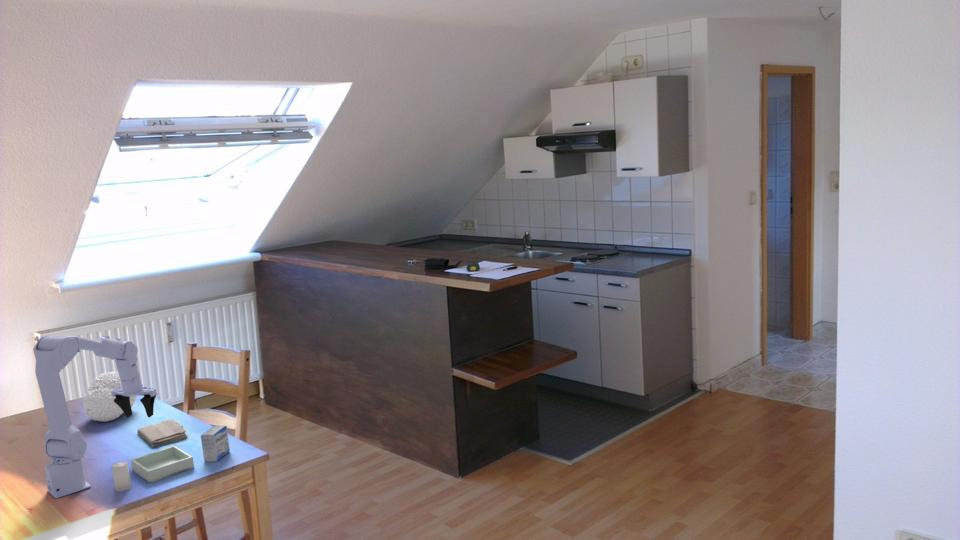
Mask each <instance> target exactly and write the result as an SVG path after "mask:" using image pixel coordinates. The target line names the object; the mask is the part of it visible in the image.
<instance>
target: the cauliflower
mask: <svg viewBox="0 0 960 540" xmlns="http://www.w3.org/2000/svg"><path fill="white" fill-rule="evenodd" d="M91 381H92V382H90V385H89V386H88V387H87V388H88V389H87V392H86V393H85V395H84V397H83V402H82V405H83V406H82V407H83V410H84V414H85V415H86V417H87V418H88V419H90V420H93V421H96V422H106V423H107V422H109V421H110V422H111V421H114V420H116V419H117V418H120V416H122V415H123V414H124V412H123V411H122V409H121V408H120V407H119V406H118V405H117V404H116V403H115V402H114V399H115V397H112V393H111V391H112V390H114V389H117V388H122V385H121V381H120V377H119V374H118V371H107V372H103V373H100V374H98V375H97V376H96V377H95V378H94V379H93V380H91ZM136 401H137V396H130V405H131V408H132V407H134V404H135V402H136Z"/></svg>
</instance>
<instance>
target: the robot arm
mask: <svg viewBox="0 0 960 540" xmlns="http://www.w3.org/2000/svg"><path fill="white" fill-rule="evenodd" d="M32 350H33V354H34V358H35V370H34V371H35V377H36V381H37V384H38V388H39V391H40V396H41V399H42V404H43V407H44V411H45V416H46V419H47V422H48V426H49V430H48V431H47V432H46V433H45V434H44V435H43V438H44V446H43V447H44V449H43V450H44V454H45V455H46V456H47V457H49V458H50V461H51V462H50V463H48V464H45V465H44V475H45V480H46V486H47V492H48V493H49V494H50V495H51V496H52V497H53V498H54V499H58V498H59V499H60V498H62V497H64V496H68V495H71V494H74V493H76V492H77V493H78V492H79V491H80V492H81V491H83V490H85V489H86V490H87V489H89V488H91V487H92V485H91V484H90V483H89V482H88V481H86V475H85V471H84V470H85V469H84V463H83V457H84V455H85V453H86V451H87V441H86V439H85V438H84V437H83V436H82V435H83V434H82V432H81V430H80V429H79V428H77V427H76V426H75V425H73V423H72V419H71V415H70V412H69V411H70V410H69V408H68V404H67V399H66V395H65V391H64V387H63V383H62V380H61V375H60V373H61V371H62V370H64V369H65V368H66V367H67V365H69V364H70V362H71V361H72V360H73V359H74V358H75V357H76V356H77V354H78V353H80V352H81V351H89V352H90V351H92V352H93V354H94V355H95V356H96V357H100V358H101V357H102V358H107V359H111V360H114V362H115V365H116V366H115V367H116V369H117V372H118V374H119V377H120V381H121V385H122V388H117V389H114V390H112V391H111V393H112V397H115V399H114V402H115V403H116V404H117V405H118V406H119V407H120V408H121V409H122V411H123V412H124V413H123V414H124V415H125V417H126V418H130V417H131V416H132V415H133V410H132V407H131V405H130V396H136V397H138V396H143V397H142V398H140V400H139V401H140V403H141V405H143V407H144V410H145V414H146V416H147V418H151V417H152V416H153V415H154V405H155V400H156V397H157V389H156V388H155V387H148V386H144V384H143V382H142V379H141V374H140V371H139V367H138V357H137V354H138V346H136V345H135V343H134V342H132V341H130V340H129V341H123V340H122V339H121V338H115V339H113V338H111V337H110V336H109V335H103V336H101V337H99V338H97V339H92V338H87V337H83V336H77V335H76V336H74V335H52V336H50V335H43V336H41V337H39V339H38V340H37V342H36V343H35V345H34V347H33V348H32Z"/></svg>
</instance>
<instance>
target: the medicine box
mask: <svg viewBox="0 0 960 540" xmlns="http://www.w3.org/2000/svg"><path fill="white" fill-rule="evenodd" d="M200 440H201V446H202V447H201V448H202V454H203V455H202V456H203V461H204V462H208V463H209V462H211V463H212V462H214V463H216V462H217V461H218V462H219V461H220V460H222V458H224V457H225V456H226V455H228V453H229V452H231V450H230V444H229V443H230V441H229V435H228V427H227V425H221V424H220V425H213V426H212V427H210V428H209V429H207V430H206V431H205V432H203V433H202V434H200ZM224 455H225V456H224ZM218 462H217V463H218Z"/></svg>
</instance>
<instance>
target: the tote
mask: <svg viewBox="0 0 960 540" xmlns="http://www.w3.org/2000/svg"><path fill="white" fill-rule="evenodd" d="M130 463H131V469H132V471H133V472H134V473H135V474H136V475H138V476H139V477H140V478H142V479H143V480H145V481H146V482H147V483H149V484H151V483H154V482H157V481H160V480H163V479H166V478H168V477H171V476H174V475H178V474H180V473H183V472H186V471H189V470H193V469H194V468H195V463H194V457H193V456H192V455H190V454H189V453H187V452H186V451H184V450H182V448H179V447H177V446H176V445H173V446H169V447H167V448H163V449H160V450H156V451H153V452H150V453H148V454H144V455H140V456H137V457H135V458H132V459H130Z"/></svg>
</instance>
